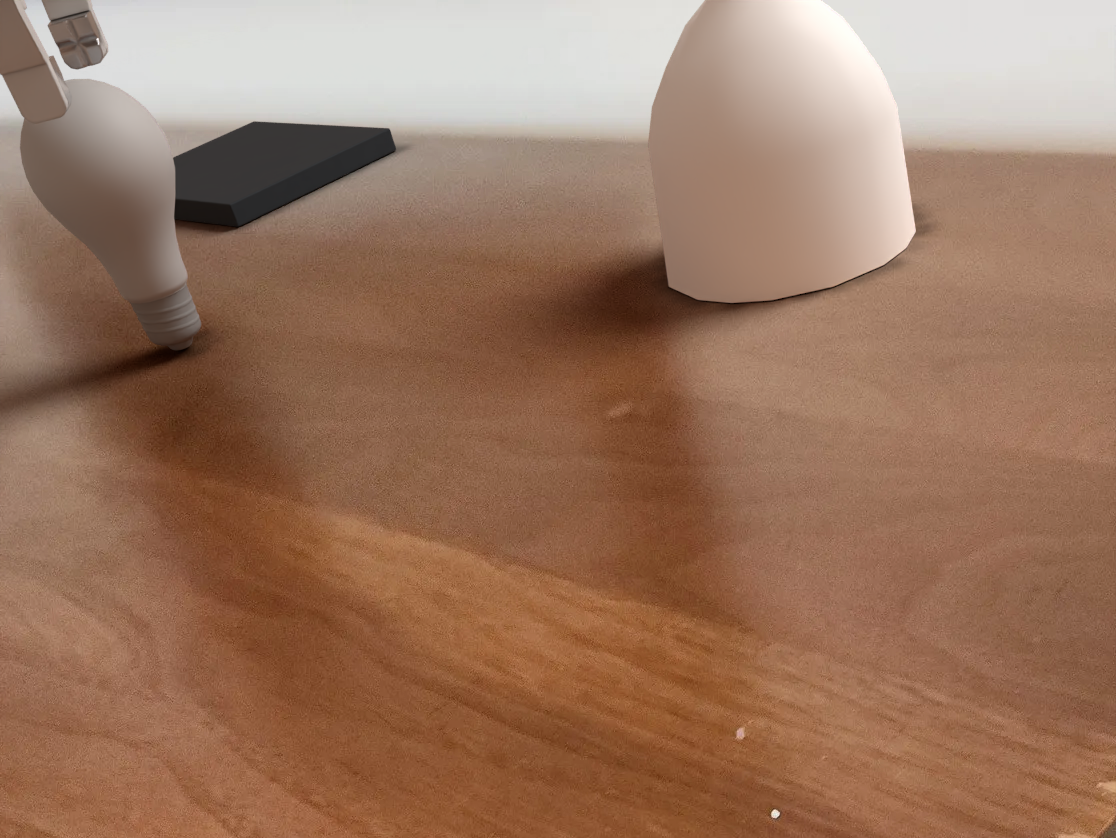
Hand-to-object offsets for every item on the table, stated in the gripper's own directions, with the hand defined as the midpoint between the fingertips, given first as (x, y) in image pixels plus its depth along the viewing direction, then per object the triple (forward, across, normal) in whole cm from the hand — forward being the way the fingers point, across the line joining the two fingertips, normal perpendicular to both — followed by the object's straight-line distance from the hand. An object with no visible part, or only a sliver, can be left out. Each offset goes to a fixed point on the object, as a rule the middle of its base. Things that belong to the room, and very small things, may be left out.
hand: (72, 88), depth 60 cm
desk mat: (+11, -27, +1) cm, 29 cm away
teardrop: (+11, +7, +28) cm, 31 cm away
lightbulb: (+11, 0, 0) cm, 11 cm away
